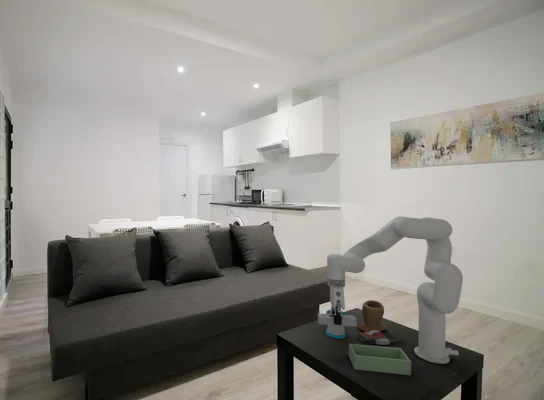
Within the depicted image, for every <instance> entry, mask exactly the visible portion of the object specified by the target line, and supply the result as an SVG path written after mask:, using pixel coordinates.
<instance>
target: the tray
mask: <svg viewBox="0 0 544 400" xmlns="http://www.w3.org/2000/svg"><path fill="white" fill-rule="evenodd" d="M348 358H349V360H350V363H351V365H352V368H353V370H355V371H356V370H357V371H365V372H374V373H375V372H377V373H383V374H391V375H393V374H394V375H403V376H405V375H406V376H412V360H411V359H410V358H409V357H408V355H407V354H406V353H405V351H404V350H403V349H402V348H400V347H391V346H382V345H379V346H378V345H371V344H368V345H367V344H357V343H348Z"/></svg>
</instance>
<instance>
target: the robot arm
mask: <svg viewBox="0 0 544 400" xmlns="http://www.w3.org/2000/svg"><path fill="white" fill-rule="evenodd" d="M452 234H453V227H452V224H450V222H448V221H447V220H445V219H443V218H435V217H430V216H429V217H421V218H418V217H409V216H401V215H400V216H396V217H394V218H392V219H391V220H389V222H387V223H386V224H385V225H384V226H383V227H381V228H380V229H379V230H377V231H376V232H375V233H373V234H371V235H370V236H368V237H366V238H364V239H363V240H361V241H359V242H358V243H356V244H354V245H353V246H352V247H351V248H349V249H347V251H345V252H344V253H343V254H338V253H331V254H328V255H327V257H326V260H327V261H326V270H327V271H326V273H327V274H326V280H327V286H328V287H329V301H330V305H331V306H332V310H333V311H332V314H335V315H334V324H335V325H342V316H341V311H344V310H346V303H345V302H346V301H345V290H344V288H345V287H346V273H347V272H348V273H352V274H359V273H362V272H363V271H364V270H365V268H366V263H365V259H366V258H367V257H369V256H371V255H374V254H379V253H383V252H387V251H388V250H390V249H391V248H392V247H393V246H395V245H396V244H398V243H399V242H400V241H401V240H403V239H404V238H406V239H413V240H414V239H415V240H416V239H417V240H425V241H426V244H427V245H426V246H427V248H426V249H427V250H426V256H425V262H424V266H423V272H424V275H425V276H426V277H427V278H428V279H429V280H432V281H433V282H431V281H425V282H422V283H421V284H420V285H418V287H417V290H416V298H417V299H416V300H417V306H418V342H417V343H418V345H417V346H416V347H414V349H413V352H414V354H415V355H416V357H418V358H420V359H421V360H424V361H427V362H429V363H433V364H439V365H445V364H448V363H450V362H451V361H450V360H451V358H450V356H455V357H457V356H459V354H460V353H459V351H458V350H453V349H452V348H451V347H446V328H447V327H446V323H447V322H446V321H447V320H446V319H447V318H446V315H449V314H452V313H454V312H455V311H456V310H457V308H458V306H459V304H460V298H461V293H462V288H463V283H464V282H463V281H464V278H463V273H462V271H461V269H460V268H459V267H458V266H457V265H456V264H454V263H452V261H451V260H452V254H453V253H452V252H453V245H452V242H451V241H452V240H451V239H450V236H451V235H452Z"/></svg>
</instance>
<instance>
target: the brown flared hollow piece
mask: <svg viewBox="0 0 544 400" xmlns="http://www.w3.org/2000/svg"><path fill="white" fill-rule="evenodd" d="M361 314H362V317H363V321H361V322H359V323H358V322H357V327H356V328H358V329H359V330H361V331H363V332H364V333H365V332H370V331H372V330H378V331H380V332H382V331H385V330H386V331H387V330H388V325H386V324H385V323H384V322H383V317H384V314H385V307H384V305H383V303H381V302H380V301H377V300H373V299H368V300H366V301H364V302H363V304H362V308H361Z"/></svg>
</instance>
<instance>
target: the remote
mask: <svg viewBox="0 0 544 400" xmlns="http://www.w3.org/2000/svg"><path fill="white" fill-rule="evenodd" d="M334 315H335V314H326V313H317V322H318V325H323V326H328V325H335V324H334ZM341 316H342V325H338V326H344V327H356V328H358V327H357V324H358V321H357V320H358V319H357V318H356V316H355V315H353V314H346V315H341Z"/></svg>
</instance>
